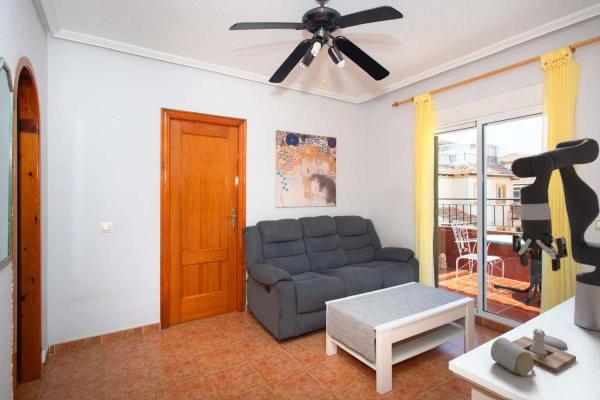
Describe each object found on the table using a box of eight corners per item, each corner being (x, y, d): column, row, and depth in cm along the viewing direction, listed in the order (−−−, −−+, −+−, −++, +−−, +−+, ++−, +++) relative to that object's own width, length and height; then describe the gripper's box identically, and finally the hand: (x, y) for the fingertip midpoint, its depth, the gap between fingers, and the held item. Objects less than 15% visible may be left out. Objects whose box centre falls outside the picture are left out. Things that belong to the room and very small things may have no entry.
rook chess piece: (526, 352, 96) (527, 328, 96) (534, 350, 98) (535, 326, 97) (542, 360, 92) (543, 334, 92) (550, 357, 94) (551, 332, 93)
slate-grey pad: (540, 334, 109) (540, 332, 109) (571, 345, 101) (571, 343, 101) (528, 339, 105) (528, 337, 105) (559, 352, 97) (560, 349, 97)
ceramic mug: (516, 379, 82) (518, 352, 82) (489, 363, 90) (490, 338, 89) (542, 373, 85) (544, 347, 85) (514, 358, 93) (515, 334, 93)
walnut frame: (524, 340, 104) (524, 336, 104) (575, 360, 92) (576, 356, 92) (502, 349, 98) (502, 345, 98) (555, 372, 85) (555, 368, 85)
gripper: (569, 217, 89) (573, 270, 89) (519, 216, 102) (522, 262, 102) (555, 219, 86) (559, 274, 86) (505, 218, 99) (508, 266, 99)
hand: (539, 268), depth 94 cm, fingers open, 8 cm apart
